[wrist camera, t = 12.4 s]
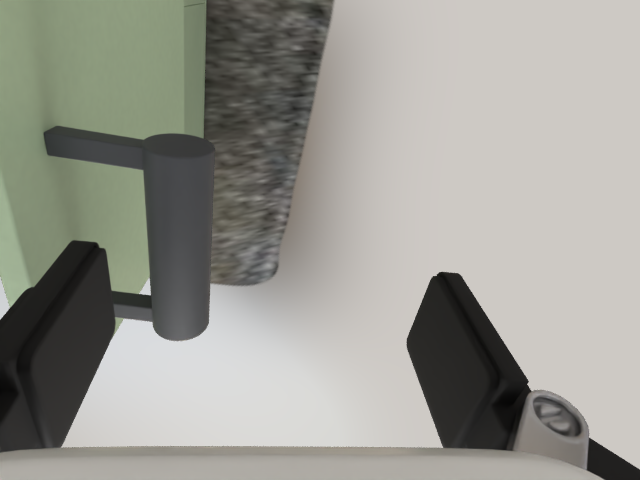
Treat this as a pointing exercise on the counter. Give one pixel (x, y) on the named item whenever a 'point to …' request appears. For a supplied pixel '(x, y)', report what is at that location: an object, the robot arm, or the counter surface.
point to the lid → (105, 155)
